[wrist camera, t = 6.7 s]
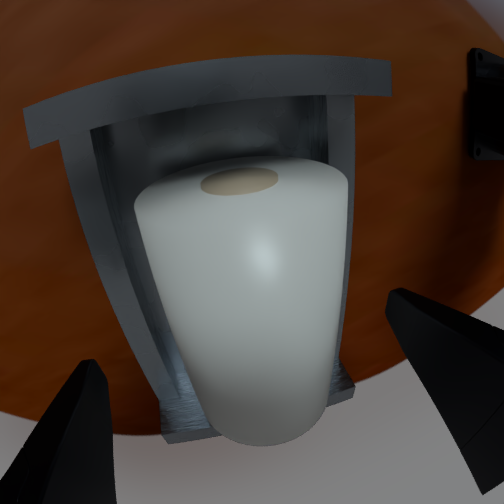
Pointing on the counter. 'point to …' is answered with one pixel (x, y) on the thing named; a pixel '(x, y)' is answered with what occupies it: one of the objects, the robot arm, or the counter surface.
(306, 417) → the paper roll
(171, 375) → the cradle holder
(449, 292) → the counter surface
